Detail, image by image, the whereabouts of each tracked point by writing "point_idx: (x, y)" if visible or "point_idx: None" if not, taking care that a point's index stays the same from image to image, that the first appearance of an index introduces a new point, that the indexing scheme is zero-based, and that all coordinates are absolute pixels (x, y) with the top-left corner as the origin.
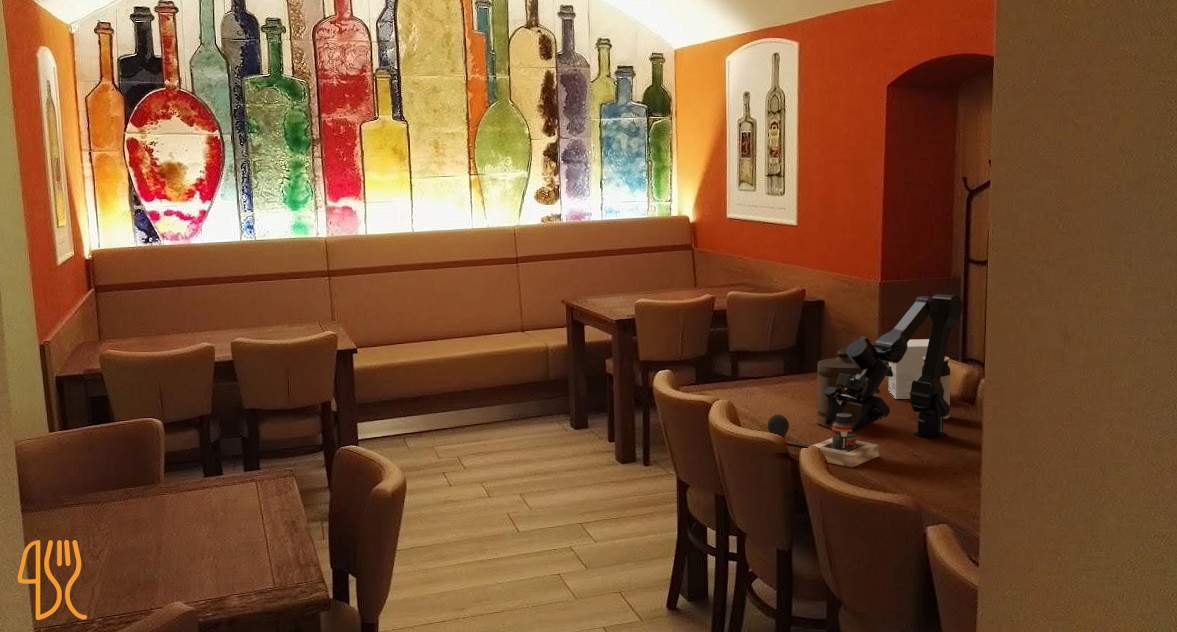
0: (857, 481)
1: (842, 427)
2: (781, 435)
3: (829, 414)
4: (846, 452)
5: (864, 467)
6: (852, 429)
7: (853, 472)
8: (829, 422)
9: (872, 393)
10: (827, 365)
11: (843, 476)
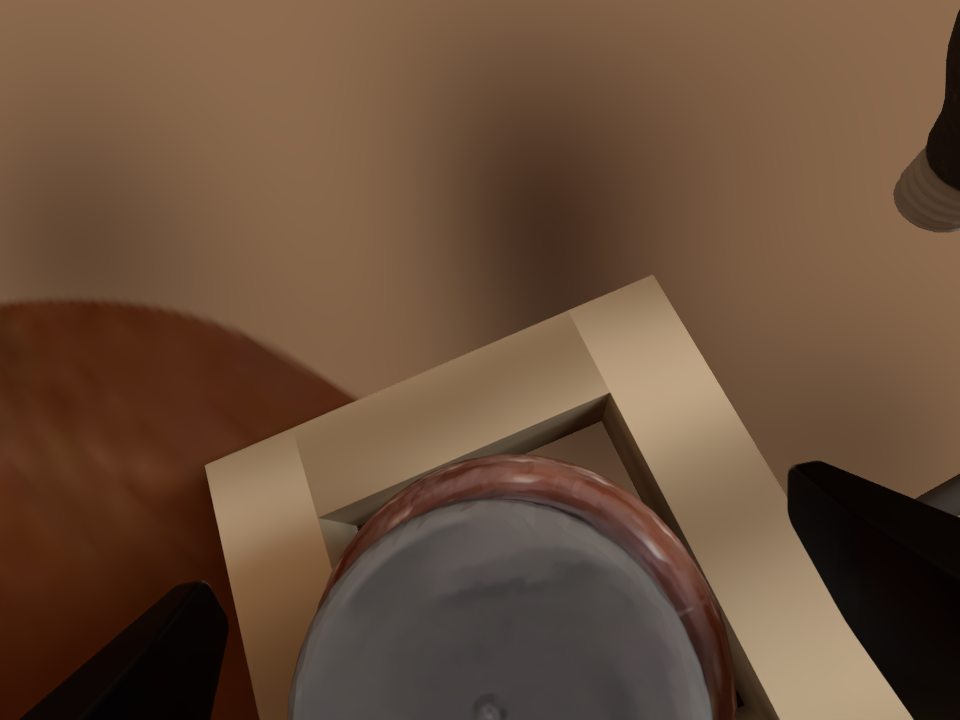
0: (28, 331)
1: (374, 517)
2: (947, 93)
3: (939, 558)
4: (315, 488)
5: (205, 575)
6: (182, 585)
7: (170, 419)
8: (820, 546)
9: None
10: None
11: (151, 311)
